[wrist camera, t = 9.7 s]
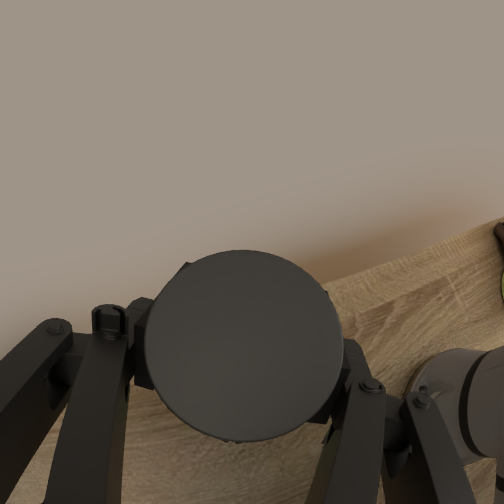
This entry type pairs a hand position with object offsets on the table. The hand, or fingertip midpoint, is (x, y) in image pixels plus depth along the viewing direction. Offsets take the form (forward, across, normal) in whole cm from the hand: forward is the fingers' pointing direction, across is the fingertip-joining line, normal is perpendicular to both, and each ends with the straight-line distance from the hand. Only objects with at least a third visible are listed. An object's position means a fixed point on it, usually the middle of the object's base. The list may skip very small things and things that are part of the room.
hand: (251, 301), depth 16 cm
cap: (-1, 0, -4) cm, 4 cm away
